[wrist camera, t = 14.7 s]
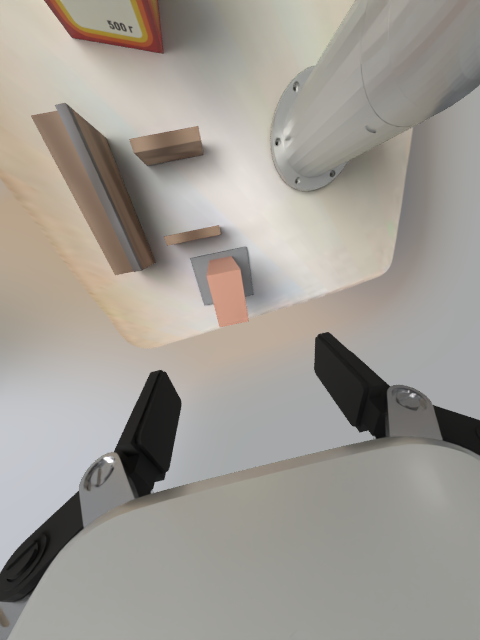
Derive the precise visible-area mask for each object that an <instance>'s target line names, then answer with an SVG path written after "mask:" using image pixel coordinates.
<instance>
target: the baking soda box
mask: <svg viewBox="0 0 480 640" xmlns="http://www.w3.org/2000/svg"><path fill="white" fill-rule="evenodd" d="M44 1H45V2H46V3H47V5H48V6H49V8H50V9H51V10H52V12H53V13H54V14H55V16H56V17H57V18H58V20H59V21H60V22H61V24H62V25H63V26H64V28H65V29H66V31H67V32H68V33H69V35H70V36H71V37H72V38H76V39H82V40H88V41H93V42H99V43H105V44H111V45H117V46H122V47H128V48H134V49H140V50H146V51H151V52H157V53H163V46H162V37H161V27H160V17H159V7H158V0H44Z"/></svg>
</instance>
